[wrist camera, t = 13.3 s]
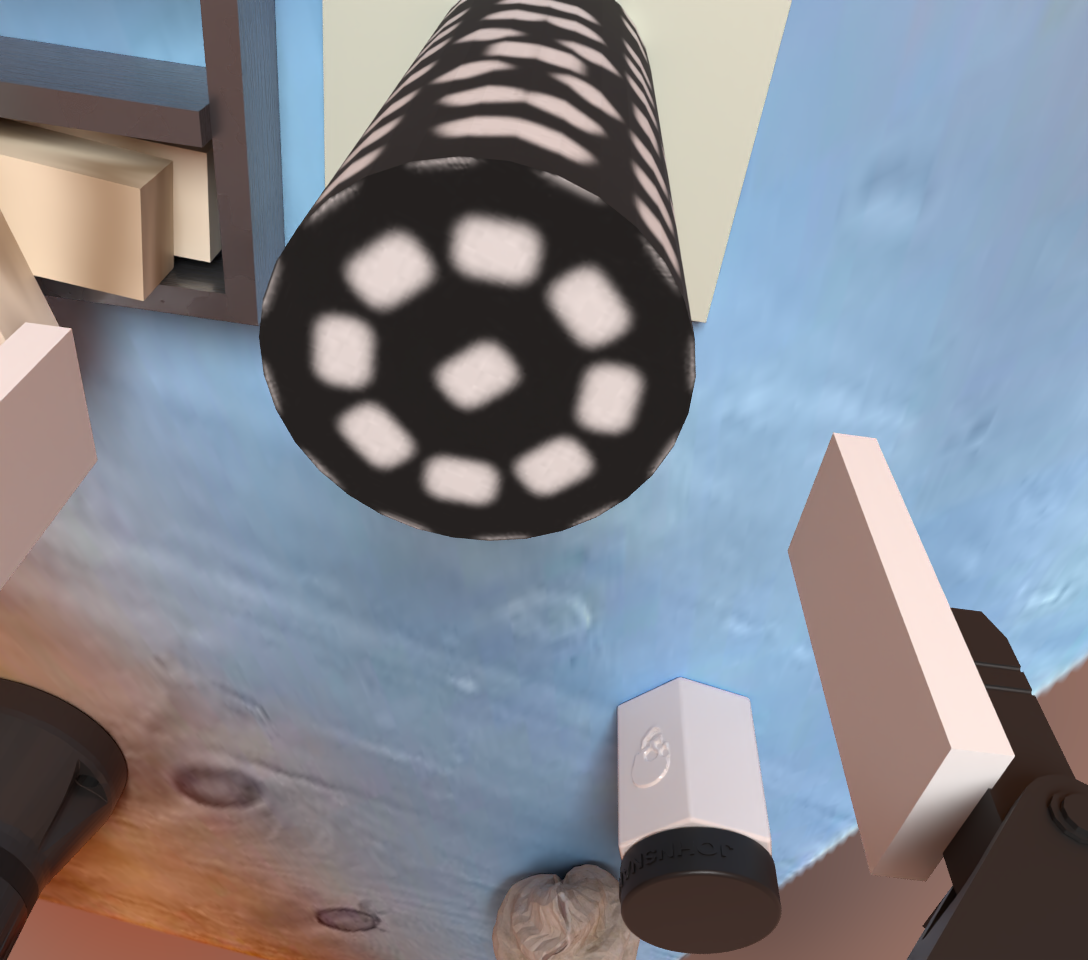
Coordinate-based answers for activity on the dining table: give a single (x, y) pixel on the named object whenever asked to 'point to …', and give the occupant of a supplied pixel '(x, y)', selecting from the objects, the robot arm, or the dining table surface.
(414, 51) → the mat
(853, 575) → the robot arm
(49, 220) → the offcut middle
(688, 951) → the jar
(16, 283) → the offcut top
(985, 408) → the dining table surface
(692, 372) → the spotted tube
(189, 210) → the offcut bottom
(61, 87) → the tray
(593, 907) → the seashell
